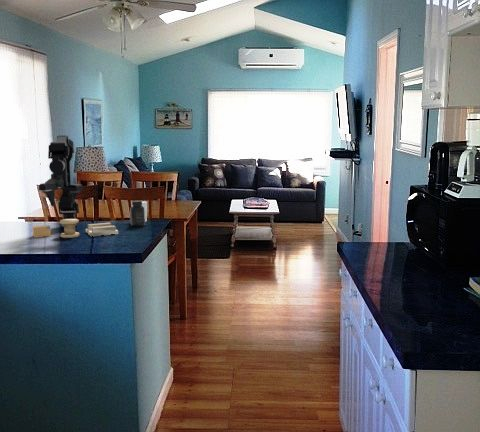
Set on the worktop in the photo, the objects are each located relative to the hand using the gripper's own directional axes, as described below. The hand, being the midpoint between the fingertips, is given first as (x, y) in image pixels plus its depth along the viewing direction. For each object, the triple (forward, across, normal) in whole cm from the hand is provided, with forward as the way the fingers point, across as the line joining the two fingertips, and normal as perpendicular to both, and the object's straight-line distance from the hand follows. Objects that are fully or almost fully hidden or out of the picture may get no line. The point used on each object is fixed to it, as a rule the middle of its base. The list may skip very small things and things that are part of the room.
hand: (61, 206), depth 245 cm
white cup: (+14, +17, +42) cm, 47 cm away
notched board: (+13, +13, +10) cm, 21 cm away
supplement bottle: (+14, +20, +32) cm, 40 cm away
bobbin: (+13, +3, +1) cm, 13 cm away
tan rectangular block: (+13, -10, -2) cm, 17 cm away
